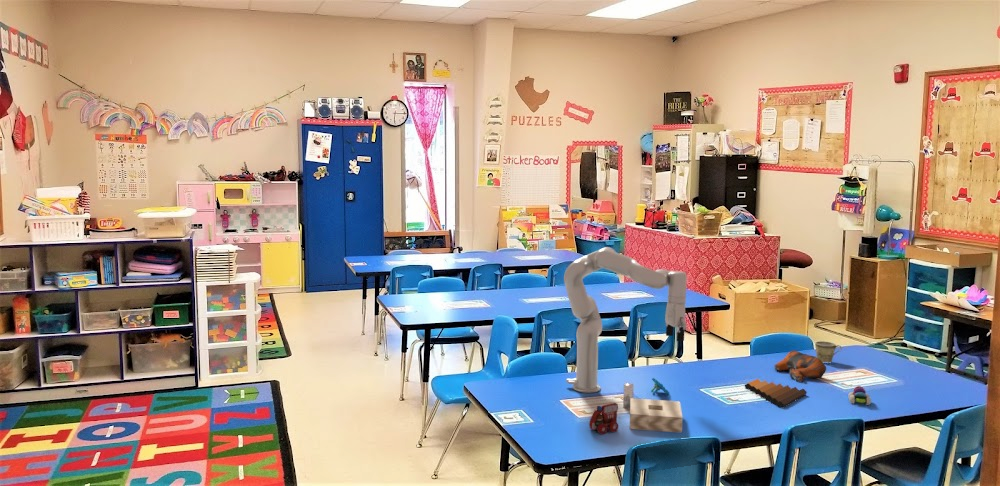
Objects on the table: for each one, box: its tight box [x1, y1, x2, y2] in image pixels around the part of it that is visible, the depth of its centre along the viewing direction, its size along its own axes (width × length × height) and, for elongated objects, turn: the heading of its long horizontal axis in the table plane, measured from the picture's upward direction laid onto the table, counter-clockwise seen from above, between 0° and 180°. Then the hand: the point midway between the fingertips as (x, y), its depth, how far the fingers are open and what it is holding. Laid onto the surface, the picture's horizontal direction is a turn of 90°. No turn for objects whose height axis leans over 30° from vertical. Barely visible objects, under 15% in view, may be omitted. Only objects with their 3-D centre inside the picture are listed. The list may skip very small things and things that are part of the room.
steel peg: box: [622, 382, 634, 410], centre depth 326 cm, size 4×4×10 cm
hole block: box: [629, 397, 683, 433], centre depth 309 cm, size 20×20×6 cm
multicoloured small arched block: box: [847, 385, 872, 406], centre depth 338 cm, size 8×10×7 cm
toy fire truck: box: [588, 402, 619, 435], centre depth 299 cm, size 7×12×10 cm, turn 117°
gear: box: [650, 377, 671, 396], centre depth 346 cm, size 11×6×10 cm
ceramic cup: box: [814, 340, 842, 363], centre depth 404 cm, size 13×10×10 cm
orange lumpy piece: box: [773, 350, 827, 382], centre depth 381 cm, size 25×13×17 cm
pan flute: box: [744, 378, 808, 408], centre depth 346 cm, size 25×3×25 cm
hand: (674, 338), depth 336 cm, fingers open, 9 cm apart
